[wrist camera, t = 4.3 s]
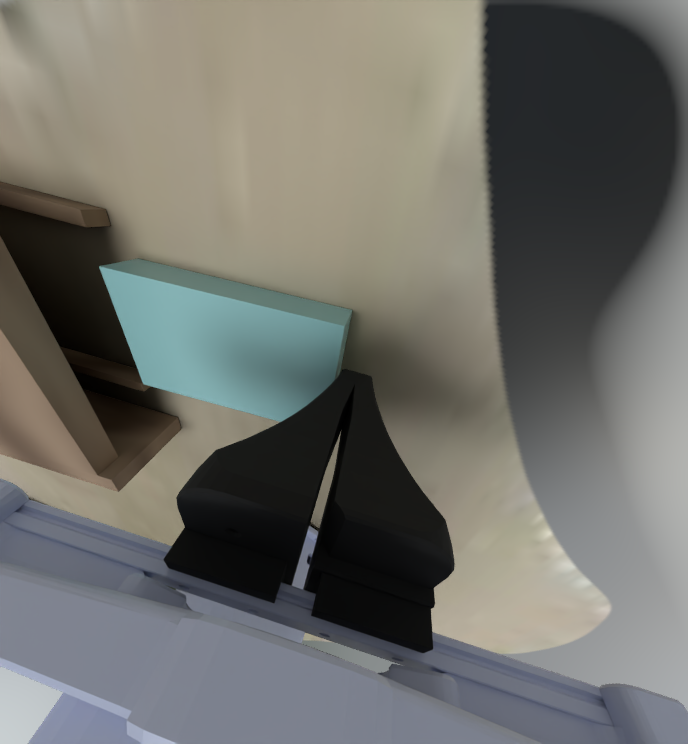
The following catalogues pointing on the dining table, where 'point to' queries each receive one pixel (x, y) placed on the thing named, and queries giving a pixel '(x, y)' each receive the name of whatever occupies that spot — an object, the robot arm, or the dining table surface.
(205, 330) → the tile
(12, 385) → the shelf
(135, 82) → the dining table surface
